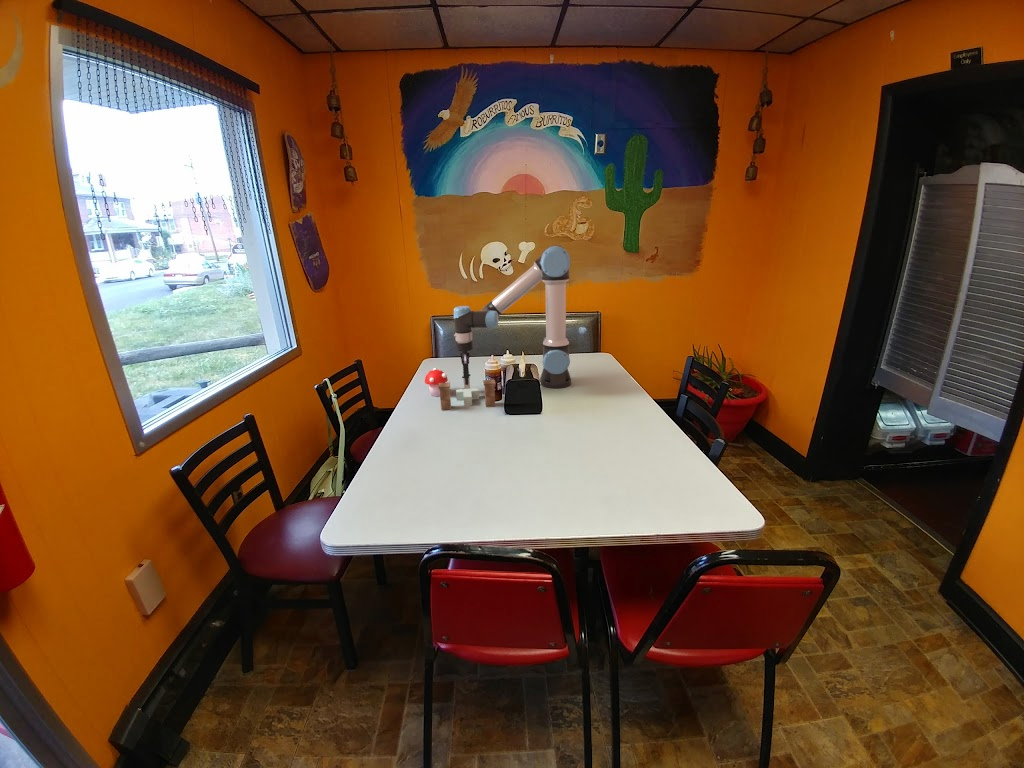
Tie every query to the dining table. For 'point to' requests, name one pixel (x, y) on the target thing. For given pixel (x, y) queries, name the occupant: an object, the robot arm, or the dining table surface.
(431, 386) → the mushroom
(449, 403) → the post
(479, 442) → the dining table surface
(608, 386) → the dining table surface
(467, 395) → the t block
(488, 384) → the post
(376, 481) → the dining table surface
